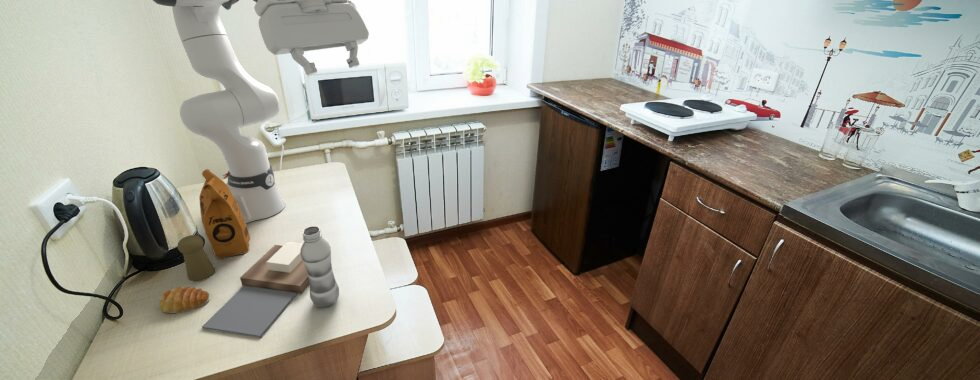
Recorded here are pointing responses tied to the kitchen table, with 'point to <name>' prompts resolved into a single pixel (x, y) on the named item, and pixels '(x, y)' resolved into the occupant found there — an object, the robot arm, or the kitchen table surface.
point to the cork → (196, 258)
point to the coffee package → (222, 218)
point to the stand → (276, 276)
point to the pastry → (182, 299)
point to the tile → (286, 258)
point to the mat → (250, 311)
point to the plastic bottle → (319, 267)
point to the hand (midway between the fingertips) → (334, 70)
